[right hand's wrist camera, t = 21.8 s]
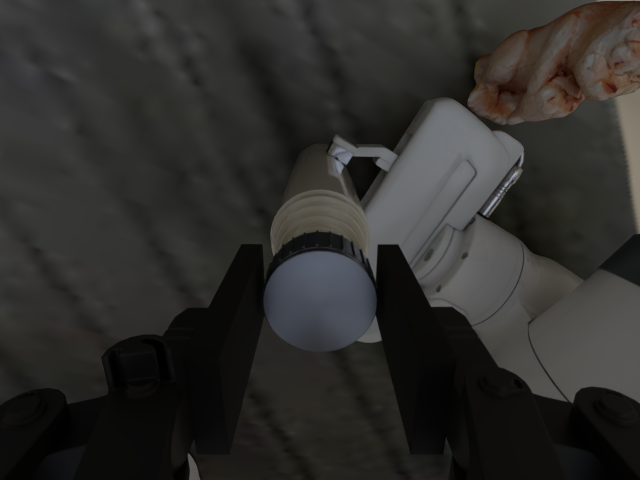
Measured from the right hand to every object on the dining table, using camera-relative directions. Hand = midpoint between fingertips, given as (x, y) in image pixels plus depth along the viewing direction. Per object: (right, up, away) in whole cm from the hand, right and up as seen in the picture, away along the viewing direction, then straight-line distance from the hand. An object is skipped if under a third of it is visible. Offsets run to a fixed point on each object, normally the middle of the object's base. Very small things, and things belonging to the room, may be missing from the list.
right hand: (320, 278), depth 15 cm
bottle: (0, +8, +21) cm, 23 cm away
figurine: (+15, +15, +19) cm, 28 cm away
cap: (0, -1, -2) cm, 2 cm away
